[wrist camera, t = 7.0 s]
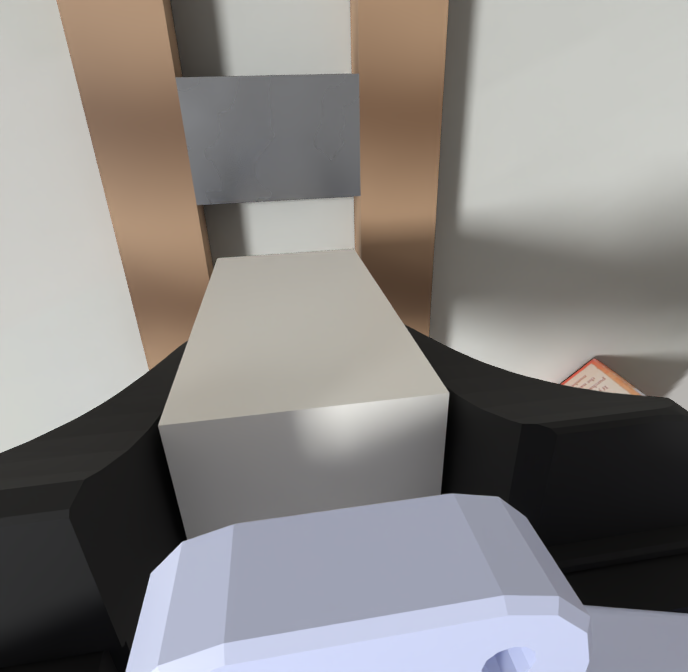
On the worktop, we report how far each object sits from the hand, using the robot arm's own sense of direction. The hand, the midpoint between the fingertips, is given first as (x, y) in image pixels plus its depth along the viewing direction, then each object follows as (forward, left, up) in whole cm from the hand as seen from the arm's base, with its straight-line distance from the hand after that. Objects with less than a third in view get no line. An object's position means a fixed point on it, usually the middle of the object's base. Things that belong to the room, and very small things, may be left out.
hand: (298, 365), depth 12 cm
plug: (0, 0, -3) cm, 3 cm away
